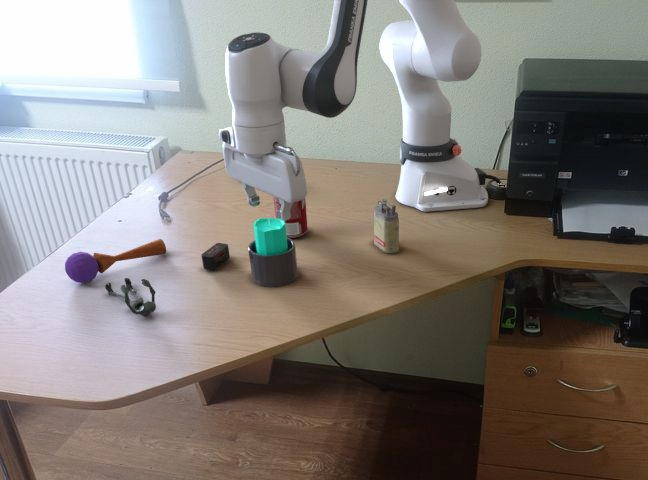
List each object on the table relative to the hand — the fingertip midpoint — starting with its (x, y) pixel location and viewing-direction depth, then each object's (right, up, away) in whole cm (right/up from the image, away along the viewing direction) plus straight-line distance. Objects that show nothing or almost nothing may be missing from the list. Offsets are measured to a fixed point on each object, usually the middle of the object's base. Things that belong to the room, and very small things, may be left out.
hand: (269, 211), depth 124 cm
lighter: (+22, -4, +18) cm, 29 cm away
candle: (0, -11, +7) cm, 13 cm away
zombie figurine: (-24, -18, -2) cm, 30 cm away
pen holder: (0, -11, +7) cm, 13 cm away
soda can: (+2, 0, +24) cm, 24 cm away
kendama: (-32, -10, +11) cm, 35 cm away
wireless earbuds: (-13, -8, +13) cm, 20 cm away
